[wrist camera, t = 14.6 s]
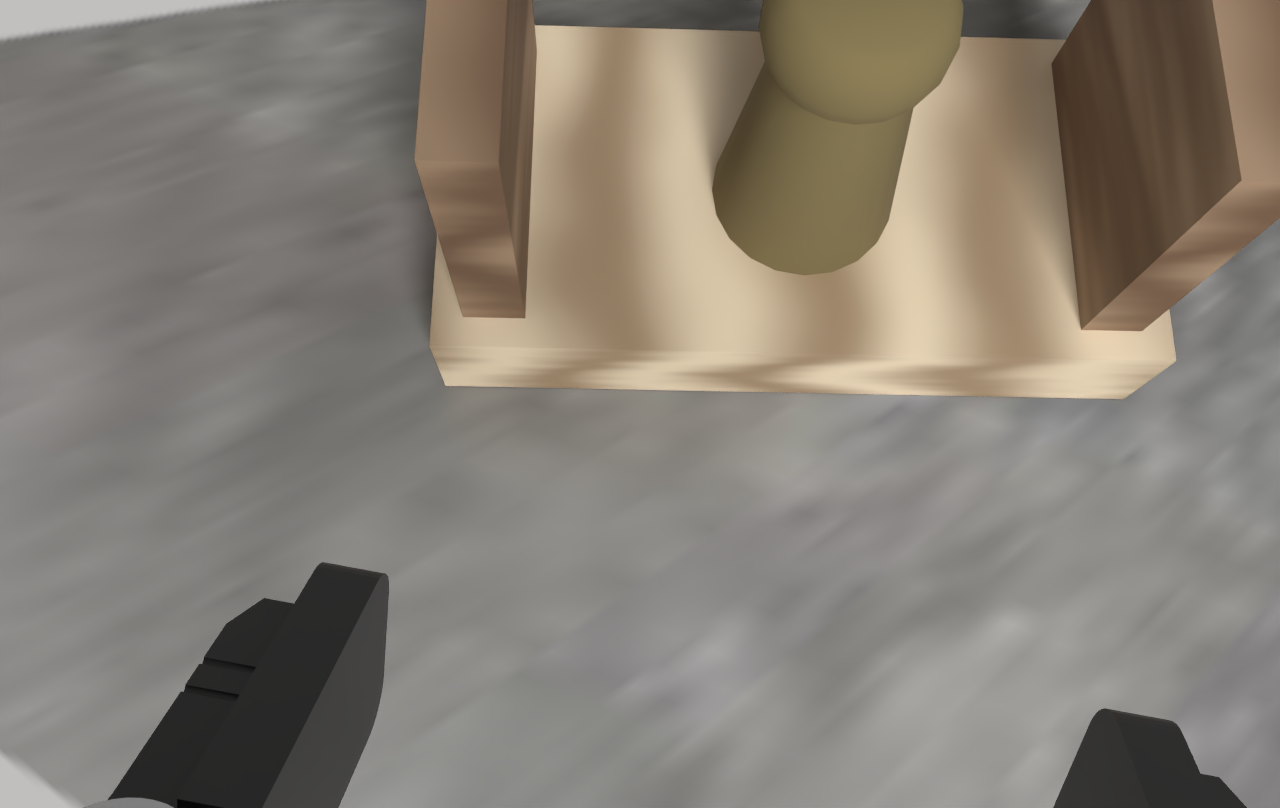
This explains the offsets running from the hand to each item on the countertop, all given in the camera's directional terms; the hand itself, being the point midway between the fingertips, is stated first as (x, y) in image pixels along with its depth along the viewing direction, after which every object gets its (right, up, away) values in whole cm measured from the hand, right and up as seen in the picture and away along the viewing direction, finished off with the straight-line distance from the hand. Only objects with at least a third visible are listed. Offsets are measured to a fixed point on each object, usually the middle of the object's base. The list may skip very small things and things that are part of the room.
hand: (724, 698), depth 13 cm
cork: (+5, +10, +26) cm, 28 cm away
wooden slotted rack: (+4, +9, +30) cm, 32 cm away
